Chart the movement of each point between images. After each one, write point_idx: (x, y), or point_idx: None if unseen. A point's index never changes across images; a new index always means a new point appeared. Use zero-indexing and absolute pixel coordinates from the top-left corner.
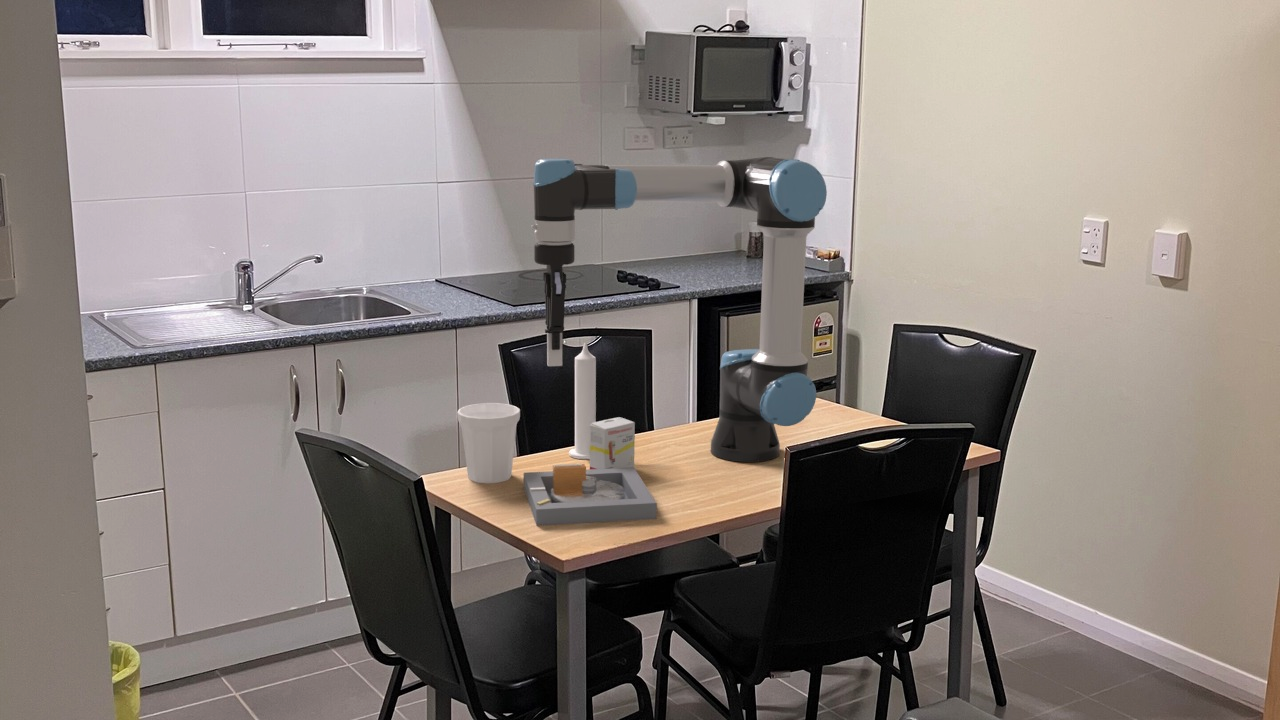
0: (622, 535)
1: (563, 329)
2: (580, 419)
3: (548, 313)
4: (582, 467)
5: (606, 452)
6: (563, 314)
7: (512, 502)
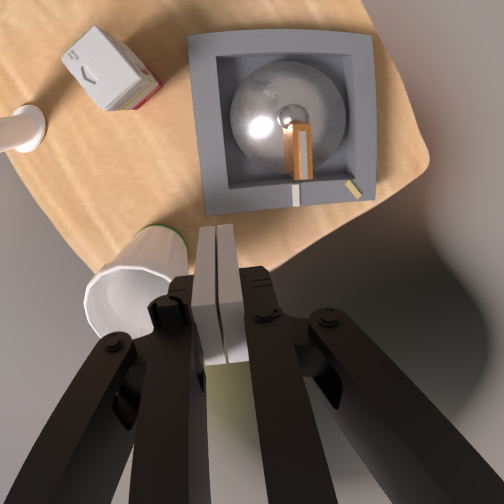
0: (382, 88)
1: (343, 313)
2: (4, 143)
3: (207, 442)
4: (310, 130)
5: (150, 79)
6: (410, 383)
7: (240, 219)
